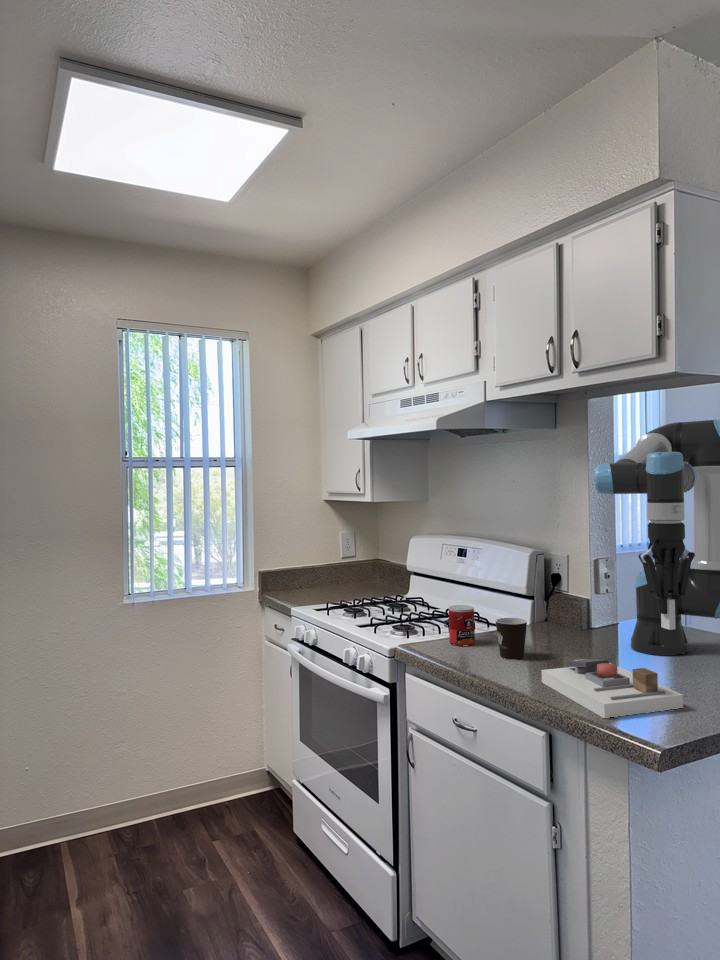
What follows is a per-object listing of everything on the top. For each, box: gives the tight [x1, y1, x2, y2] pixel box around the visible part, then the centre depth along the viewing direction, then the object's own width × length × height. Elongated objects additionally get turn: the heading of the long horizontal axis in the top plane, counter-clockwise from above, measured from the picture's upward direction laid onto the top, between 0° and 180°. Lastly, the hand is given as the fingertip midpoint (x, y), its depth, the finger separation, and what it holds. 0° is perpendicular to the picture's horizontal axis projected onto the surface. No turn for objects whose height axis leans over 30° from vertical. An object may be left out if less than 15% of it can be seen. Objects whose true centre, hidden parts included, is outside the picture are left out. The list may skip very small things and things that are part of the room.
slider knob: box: [632, 667, 659, 693], centre depth 148 cm, size 3×4×4 cm
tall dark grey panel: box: [565, 658, 610, 668], centre depth 162 cm, size 6×9×1 cm, turn 14°
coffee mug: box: [495, 617, 528, 660], centre depth 190 cm, size 12×9×10 cm
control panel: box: [541, 662, 684, 719], centre depth 154 cm, size 19×26×4 cm
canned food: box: [448, 604, 476, 646], centre depth 205 cm, size 8×8×11 cm
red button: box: [597, 662, 618, 677], centre depth 154 cm, size 4×4×2 cm
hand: (668, 628), depth 149 cm, fingers closed
